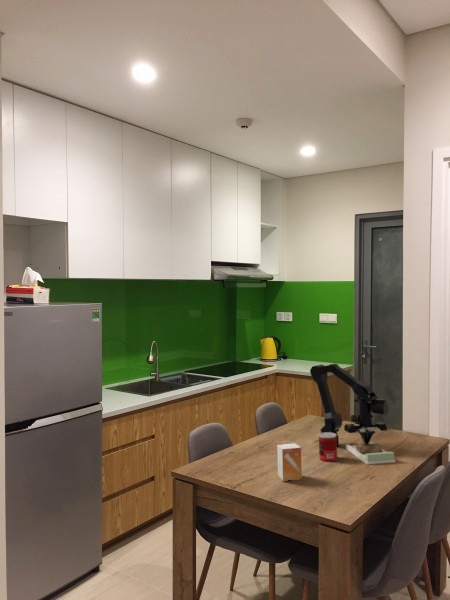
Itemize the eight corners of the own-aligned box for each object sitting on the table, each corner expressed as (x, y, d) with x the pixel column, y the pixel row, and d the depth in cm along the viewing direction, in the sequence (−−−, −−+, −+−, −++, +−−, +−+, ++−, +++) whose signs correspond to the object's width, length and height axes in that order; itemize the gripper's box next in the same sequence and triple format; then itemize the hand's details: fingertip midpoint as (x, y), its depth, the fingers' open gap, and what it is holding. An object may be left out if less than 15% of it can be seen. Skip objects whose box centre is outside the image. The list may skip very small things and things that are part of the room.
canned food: (340, 458, 225) (339, 434, 225) (331, 463, 220) (330, 438, 220) (325, 455, 231) (324, 431, 231) (316, 459, 225) (315, 435, 225)
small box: (282, 482, 199) (282, 449, 199) (277, 476, 205) (276, 444, 205) (302, 479, 201) (301, 447, 201) (296, 474, 207) (295, 442, 207)
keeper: (359, 453, 227) (359, 447, 227) (356, 451, 231) (356, 444, 231) (381, 452, 229) (381, 445, 229) (377, 449, 233) (377, 443, 233)
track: (366, 464, 217) (366, 455, 217) (345, 448, 240) (345, 439, 240) (395, 462, 219) (395, 452, 219) (371, 446, 242) (371, 437, 242)
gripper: (376, 407, 242) (377, 439, 242) (339, 409, 239) (340, 442, 239) (387, 412, 231) (388, 446, 231) (348, 414, 228) (349, 449, 228)
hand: (366, 445), depth 233 cm, fingers closed
